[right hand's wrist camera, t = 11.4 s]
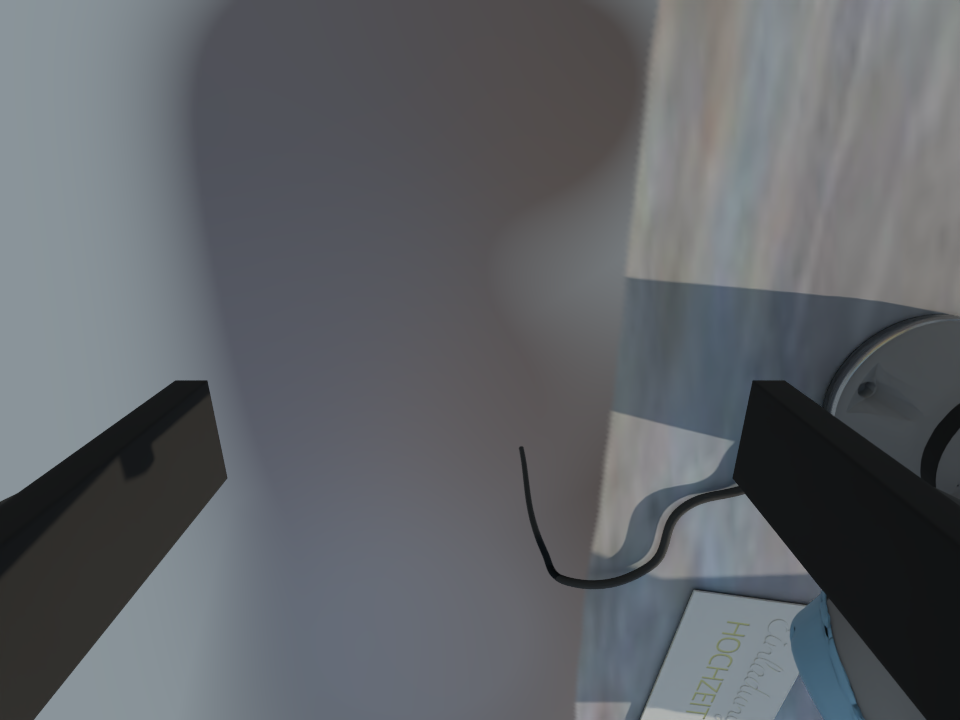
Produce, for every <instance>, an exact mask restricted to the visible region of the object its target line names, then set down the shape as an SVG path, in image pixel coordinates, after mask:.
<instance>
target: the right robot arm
mask: <svg viewBox="0 0 960 720" xmlns="http://www.w3.org/2000/svg"><path fill="white" fill-rule="evenodd" d="M519 452H520V458H521V465H522V473H523V482H524V491H525V499H526V505H527V511H528V515H529V520H530V524H531V527H532V531H533V534H534V537H535V539H536V542H537V545H538V547H539V549H540V552H541V554H542V556H543V559H544V562H545V565H546V568H547V571H548V573H549V574H550V575H551V577H552V578H553V579H555V580H556V581H558V582H559V583H561V584H564V585H567V586H571V587H576V588H583V589H604V588H611V587H615V586H619V585H623V584H626V583H628V582H631V581H633V580H635V579H637V578H639V577H641V576H643V575H645V574H647V573H648V572H650V571H651V570H653V569H654V568H655V567H657V566H658V565H659V564H660V562H661V561H662V560H663V558H664V557H665V554H666V552H667V549H668V546H669V542H670V538H671V535H672V531H673V529H674V526H675V524H676V523H677V521H678V520H679V518H680V517H681V516H682V515H683V514H684V513H686V512H687V511H688V510H690V509H691V508H693V507H695V506H697V505H700V504H703V503H706V502H710V501H714V500H719V499H725V498H730V497H735V496H739V495H743V494H746V495H747V497H748V498H749V499H750V500H751V502H752V503H753V504H754V505H755V507H756V508H757V509H758V510H759V512H760V513H761V514H762V515H763V517H764V518H765V519H766V520H767V522H768V523H769V524H770V525H771V527H772V528H773V529H774V530H775V532H776V533H777V534H778V535H779V537H780V538H781V539H782V540H783V542H784V543H785V544H786V545H787V547H788V548H789V549H790V550H791V552H792V553H793V554H794V555H795V557H796V558H797V559H798V560H799V562H800V563H801V564H802V565H803V567H804V568H805V569H806V570H807V572H808V573H809V574H810V575H811V577H812V578H813V579H814V580H815V582H816V583H817V584H818V585H819V587H820V588H821V589H822V592H821V594H820V595H819V596H818V597H817V598H815V599H814V600H813V601H812V602H811V603H809V604H808V605H807V606H806V607H805V608H803V609H802V610H801V611H800V612H799V613H798V614H797V615H796V616H795V617H794V619H793V620H792V623H791V626H790V641H791V650H792V654H793V657H794V660H795V663H796V666H797V669H798V671H799V673H800V676H801V678H802V680H803V682H804V684H805V686H806V688H807V690H808V692H809V694H810V696H811V698H812V700H813V701H814V703H815V705H816V707H817V709H818V710H819V712H820V714H821V715H822V717H823V719H824V720H960V316H954V315H944V314H939V315H926V316H920V317H915V318H912V319H908V320H905V321H902V322H899V323H897V324H894V325H892V326H890V327H888V328H886V329H884V330H882V331H881V332H879V333H877V334H876V335H874V336H873V337H871V338H870V339H868V340H867V341H866V342H864V343H863V344H862V345H861V346H859V347H858V348H857V349H856V350H855V351H854V352H853V353H852V354H851V355H850V356H849V357H848V358H847V359H846V361H845V362H844V363H843V364H842V366H841V367H840V368H839V370H838V371H837V373H836V374H835V376H834V378H833V380H832V381H831V384H830V386H829V388H828V390H827V393H826V396H825V400H824V404H823V408H822V407H821V406H819V405H818V404H817V403H815V402H814V401H812V400H811V399H810V398H808V397H807V396H805V395H804V394H803V393H801V392H800V391H798V390H797V389H796V388H794V387H793V386H791V385H790V384H789V383H787V382H786V381H753V382H752V386H751V391H750V396H749V401H748V406H747V411H746V416H745V420H744V425H743V430H742V435H741V440H740V445H739V450H738V455H737V459H736V464H735V469H734V474H733V479H734V480H735V482H736V483H737V484H738V485H739V486H738V487H734V488H729V489H724V490H719V491H714V492H709V493H705V494H701V495H698V496H695V497H693V498H691V499H689V500H687V501H685V502H684V503H682V504H681V505H680V506H678V507H677V508H676V509H675V510H674V511H673V512H672V514H671V515H670V516H669V518H668V520H667V522H666V524H665V527H664V530H663V534H662V538H661V542H660V545H659V548H658V550H657V552H656V554H655V556H654V557H653V558H652V559H651V560H650V561H649V562H647V563H646V564H644V565H643V566H641V567H639V568H638V569H636V570H634V571H632V572H629V573H627V574H625V575H622V576H619V577H615V578H611V579H605V580H580V579H574V578H570V577H566V576H563V575H561V574H559V573H558V572H557V571H556V569H555V568H554V566H553V563H552V561H551V558H550V555H549V553H548V550H547V548H546V546H545V544H544V541H543V539H542V536H541V534H540V531H539V528H538V525H537V522H536V518H535V514H534V510H533V505H532V499H531V493H530V485H529V477H528V469H527V462H526V457H525V452H524V447H523V446H520V447H519ZM226 479H227V474H226V469H225V464H224V459H223V455H222V450H221V445H220V440H219V435H218V430H217V426H216V421H215V416H214V411H213V406H212V401H211V396H210V391H209V387H208V382H207V381H174V382H173V383H171V384H170V385H169V386H167V387H166V388H164V389H163V390H162V391H160V392H159V393H157V394H156V395H155V396H153V397H152V398H150V399H149V400H148V401H146V402H145V403H143V404H142V405H141V406H139V407H138V408H136V409H135V410H134V411H132V412H131V413H129V414H128V415H127V416H125V417H124V418H122V419H121V420H120V421H118V422H117V423H115V424H114V425H113V426H111V427H110V428H108V429H107V430H106V431H104V432H103V433H101V434H100V435H99V436H97V437H96V438H94V439H93V440H92V441H90V442H89V443H87V444H86V445H85V446H83V447H82V448H80V449H79V450H78V451H76V452H75V453H73V454H72V455H71V456H69V457H68V458H66V459H65V460H64V461H62V462H61V463H59V464H58V465H57V466H55V467H54V468H52V469H51V470H50V471H48V472H47V473H45V474H44V475H43V476H41V477H40V478H38V479H37V480H36V481H34V482H33V483H31V484H30V485H29V486H27V487H26V488H24V489H23V490H22V491H20V492H19V493H17V494H15V495H13V496H11V497H9V498H7V499H5V500H3V501H1V502H0V720H34V719H35V718H36V716H37V715H38V714H39V713H40V711H41V710H42V709H43V708H44V706H45V705H46V704H47V703H48V701H49V700H50V699H51V698H52V696H53V695H54V694H55V693H56V691H57V690H58V689H59V688H60V686H61V685H62V684H63V683H64V681H65V680H66V679H67V678H68V676H69V675H70V674H71V673H72V671H73V670H74V669H75V668H76V666H77V665H78V664H79V663H80V661H81V660H82V659H83V658H84V656H85V655H86V654H87V653H88V651H89V650H90V649H91V648H92V646H93V645H94V644H95V643H96V641H97V640H98V639H99V638H100V636H101V635H102V634H103V633H104V631H105V630H106V629H107V628H108V626H109V625H110V624H111V623H112V621H113V620H114V619H115V618H116V616H117V615H118V614H119V613H120V612H121V610H122V609H123V608H124V607H125V605H126V604H127V603H128V601H129V600H130V599H131V598H132V597H133V595H134V594H135V593H136V592H137V590H138V589H139V588H140V587H141V585H142V584H143V583H144V582H145V580H146V579H147V578H148V577H149V575H150V574H151V573H152V572H153V570H154V569H155V568H156V567H157V565H158V564H159V563H160V562H161V560H162V559H163V558H164V557H165V555H166V554H167V553H168V552H169V550H170V549H171V548H172V547H173V545H174V544H175V543H176V542H177V540H178V539H179V538H180V537H181V535H182V534H183V533H184V532H185V530H186V529H187V528H188V527H189V525H190V524H191V523H192V522H193V520H194V519H195V518H196V517H197V515H198V514H199V513H200V512H201V510H202V509H203V508H204V507H205V505H206V504H207V503H208V502H209V500H210V499H211V498H212V497H213V495H214V494H215V493H216V492H217V490H218V489H219V488H220V487H221V485H222V484H223V483H224V482H225V480H226Z"/></svg>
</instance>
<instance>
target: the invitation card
mask: <svg viewBox="0 0 960 720" xmlns="http://www.w3.org/2000/svg"><path fill="white" fill-rule="evenodd" d="M806 606H807V605H801V604H794V603H787V602H780V601H772V600H765V599H758V598H751V597H743V596H736V595H729V594H721V593H714V592H707V591H700V590H693V592H692V595H691V597H690V600H689V602H688V604H687V607H686V609H685V612H684V614H683V616H682V619H681V621H680V624H679V626H678V629H677V631H676V633H675V636H674V638H673V641H672V643H671V645H670V648H669V650H668V653H667V655H666V657H665V660H664V662H663V665H662V667H661V670H660V672H659V674H658V677H657V679H656V682H655V684H654V686H653V689H652V691H651V694H650V696H649V698H648V701H647V703H646V706H645V708H644V711H643V713H642V715H641V718H640V720H774V718H775V717H776V715H777V713H778V711H779V709H780V707H781V706H782V704H783V702H784V700H785V698H786V697H787V695H788V693H789V691H790V689H791V687H792V686H793V684H794V682H795V680H796V678H797V677H798V675H799V671H798V669H797V666H796V663H795V660H794V657H793V654H792V650H791V641H790V626H791V623H792V620H793V619H794V617H795V616H796V615H797V614H798V613H799V612H800V611H801V610H802V609H803V608H805V607H806Z"/></svg>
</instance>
